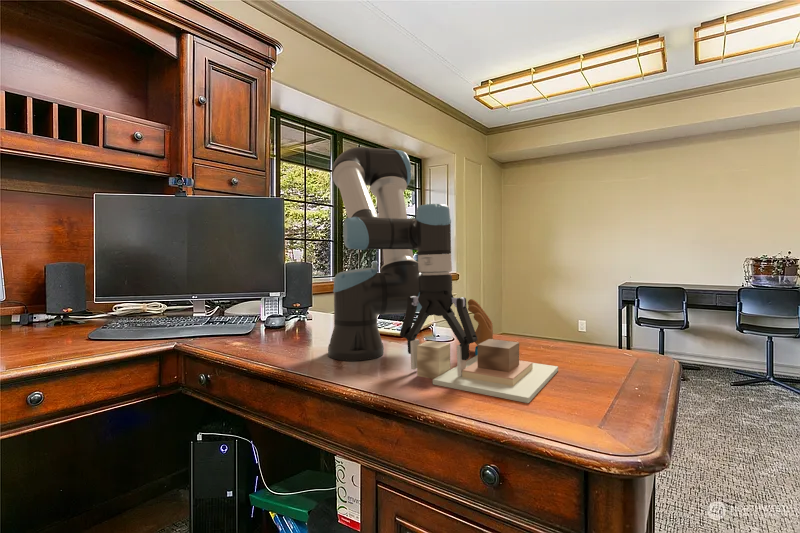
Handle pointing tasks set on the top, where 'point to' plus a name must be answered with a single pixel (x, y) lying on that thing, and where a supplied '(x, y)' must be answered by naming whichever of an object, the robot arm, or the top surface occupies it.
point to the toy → (481, 323)
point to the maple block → (433, 359)
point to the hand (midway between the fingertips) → (438, 371)
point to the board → (500, 380)
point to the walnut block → (498, 355)
